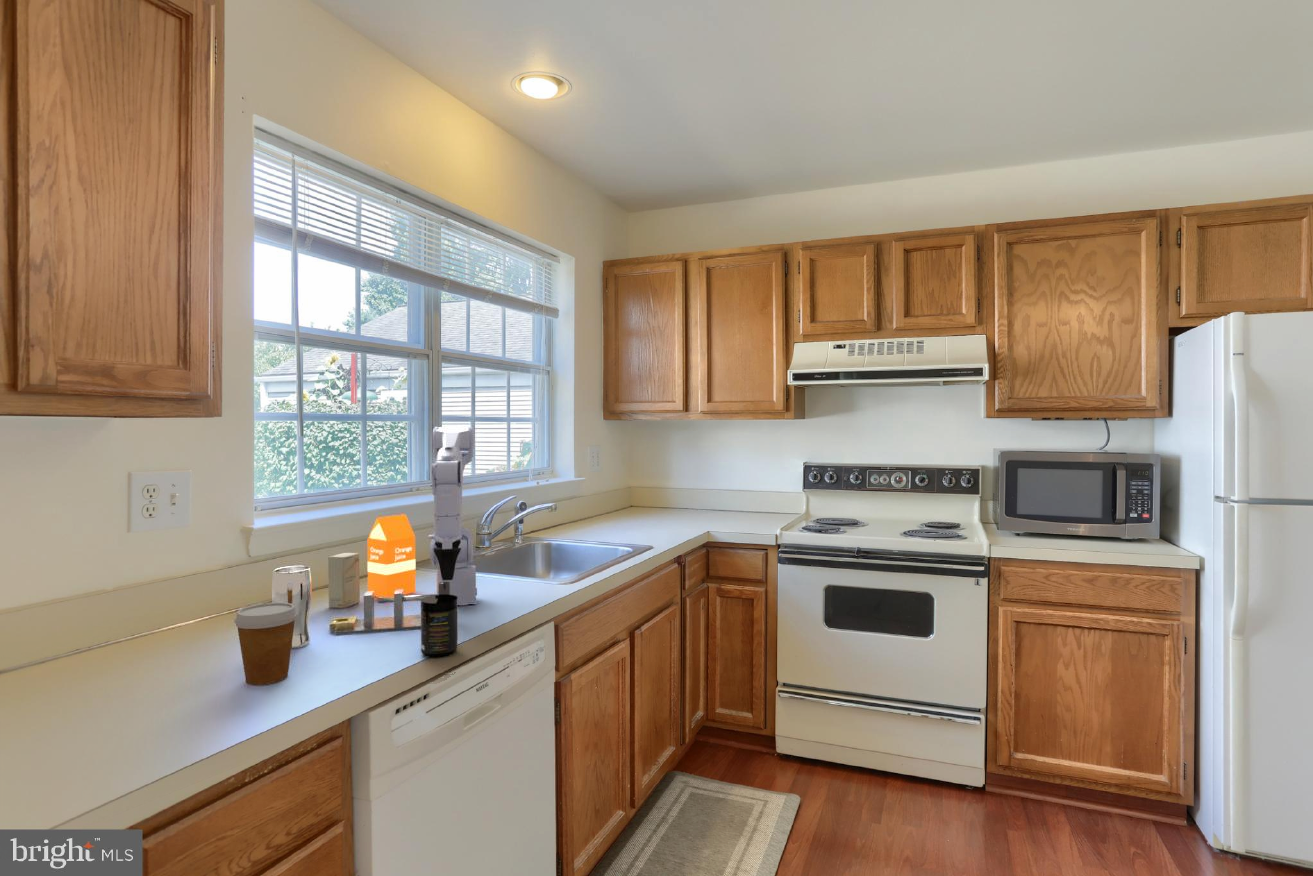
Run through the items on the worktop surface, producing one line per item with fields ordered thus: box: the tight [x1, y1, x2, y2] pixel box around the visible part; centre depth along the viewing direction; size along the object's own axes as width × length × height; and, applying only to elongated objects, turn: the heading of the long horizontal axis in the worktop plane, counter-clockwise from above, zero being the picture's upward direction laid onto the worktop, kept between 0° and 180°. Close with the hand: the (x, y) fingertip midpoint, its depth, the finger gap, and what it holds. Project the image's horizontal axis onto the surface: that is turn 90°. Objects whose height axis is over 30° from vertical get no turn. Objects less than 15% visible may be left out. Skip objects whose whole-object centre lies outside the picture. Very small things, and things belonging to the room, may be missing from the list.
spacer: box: [329, 615, 358, 631], centre depth 148 cm, size 1×5×5 cm
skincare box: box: [327, 552, 361, 609], centre depth 167 cm, size 6×4×12 cm
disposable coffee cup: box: [233, 602, 298, 686], centre depth 119 cm, size 10×10×12 cm
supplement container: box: [420, 594, 459, 659], centre depth 132 cm, size 7×7×10 cm
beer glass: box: [271, 565, 313, 650], centre depth 137 cm, size 7×7×15 cm
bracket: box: [334, 589, 421, 636], centre depth 150 cm, size 18×9×7 cm, turn 106°
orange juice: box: [367, 513, 416, 598], centre depth 178 cm, size 8×9×20 cm
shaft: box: [377, 582, 450, 604], centre depth 152 cm, size 15×2×6 cm, turn 106°
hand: (447, 576), depth 154 cm, fingers open, 7 cm apart
